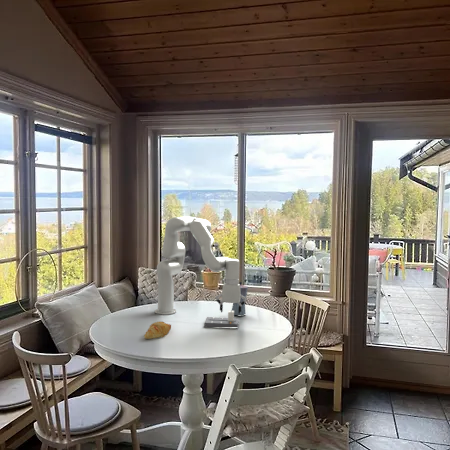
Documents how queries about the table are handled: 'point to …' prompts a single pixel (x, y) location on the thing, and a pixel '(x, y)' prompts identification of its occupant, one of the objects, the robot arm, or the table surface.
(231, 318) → the fader knob
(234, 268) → the robot arm
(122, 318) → the table surface
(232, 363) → the table surface
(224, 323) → the fader console
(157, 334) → the croissant
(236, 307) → the moka pot
